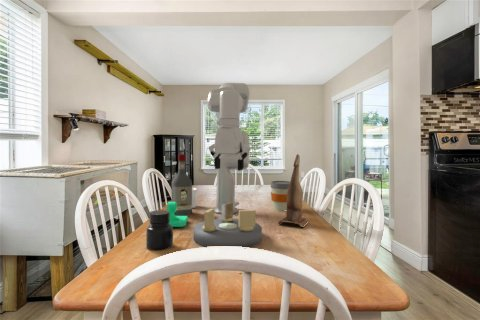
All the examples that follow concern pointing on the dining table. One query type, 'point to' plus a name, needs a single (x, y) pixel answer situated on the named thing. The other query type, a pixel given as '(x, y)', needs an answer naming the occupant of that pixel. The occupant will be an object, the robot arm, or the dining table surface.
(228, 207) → the footscrew knob
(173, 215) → the camera mount
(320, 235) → the dining table surface
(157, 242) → the ink bottle
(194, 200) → the white cup
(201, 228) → the tribrach base
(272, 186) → the reusable coffee cup
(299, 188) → the bird sculpture
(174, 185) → the liquor
